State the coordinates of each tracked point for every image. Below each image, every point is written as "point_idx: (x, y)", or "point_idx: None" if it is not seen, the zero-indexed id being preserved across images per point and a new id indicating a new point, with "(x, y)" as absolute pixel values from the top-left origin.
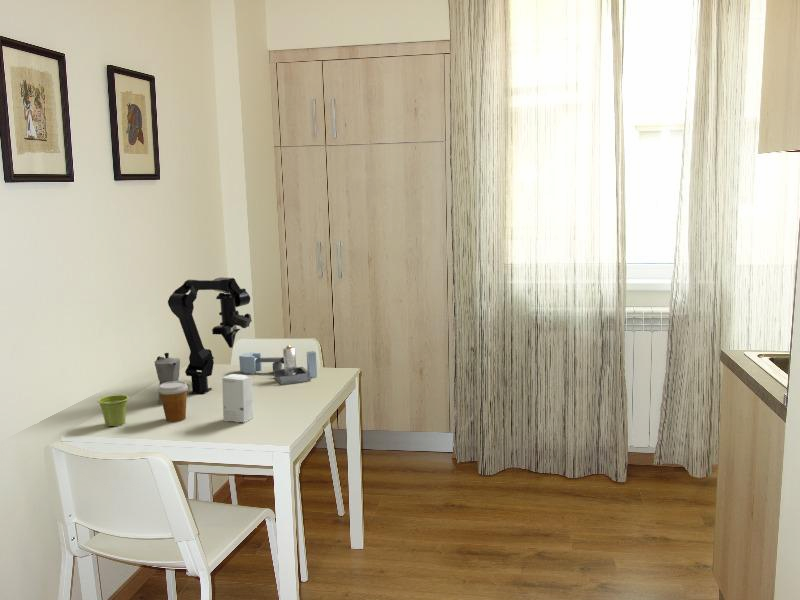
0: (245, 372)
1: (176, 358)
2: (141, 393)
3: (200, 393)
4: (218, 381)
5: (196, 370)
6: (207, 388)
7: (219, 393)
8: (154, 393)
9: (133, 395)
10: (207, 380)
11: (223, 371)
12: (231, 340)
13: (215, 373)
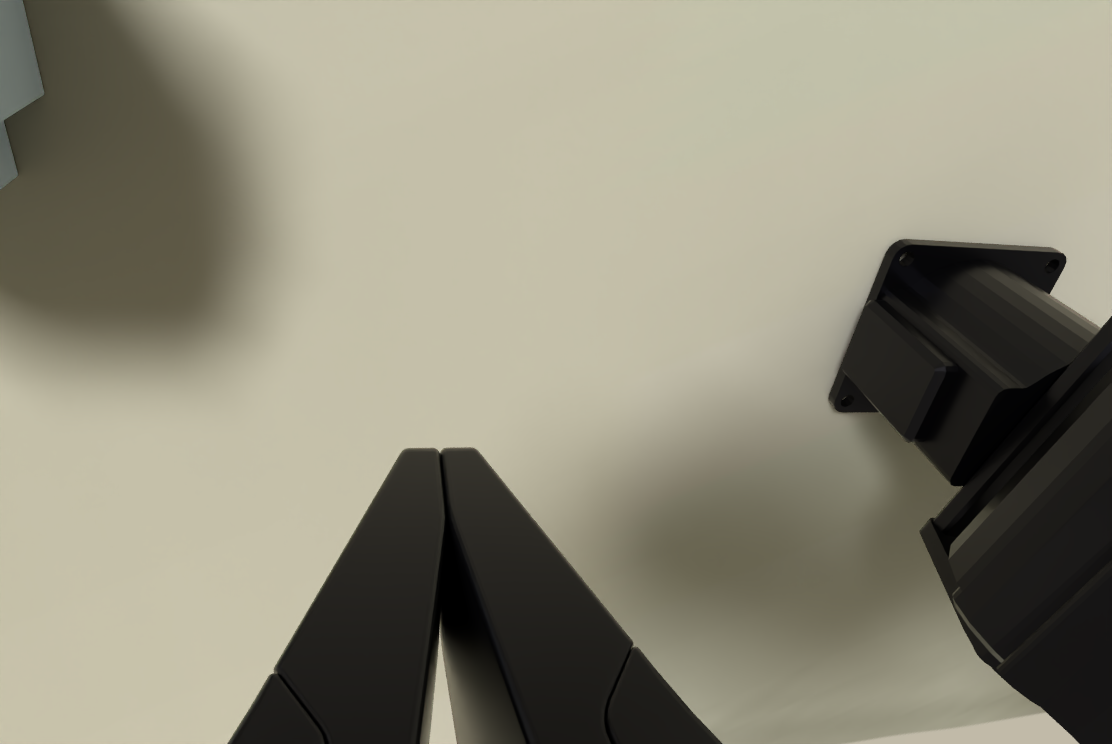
0: (24, 64)
1: None
2: (840, 694)
3: (1043, 288)
4: (531, 309)
5: (945, 542)
6: (984, 268)
7: (1099, 72)
8: (867, 631)
9: (877, 708)
10: (943, 336)
11: (17, 449)
12: (634, 648)
13: (152, 494)
